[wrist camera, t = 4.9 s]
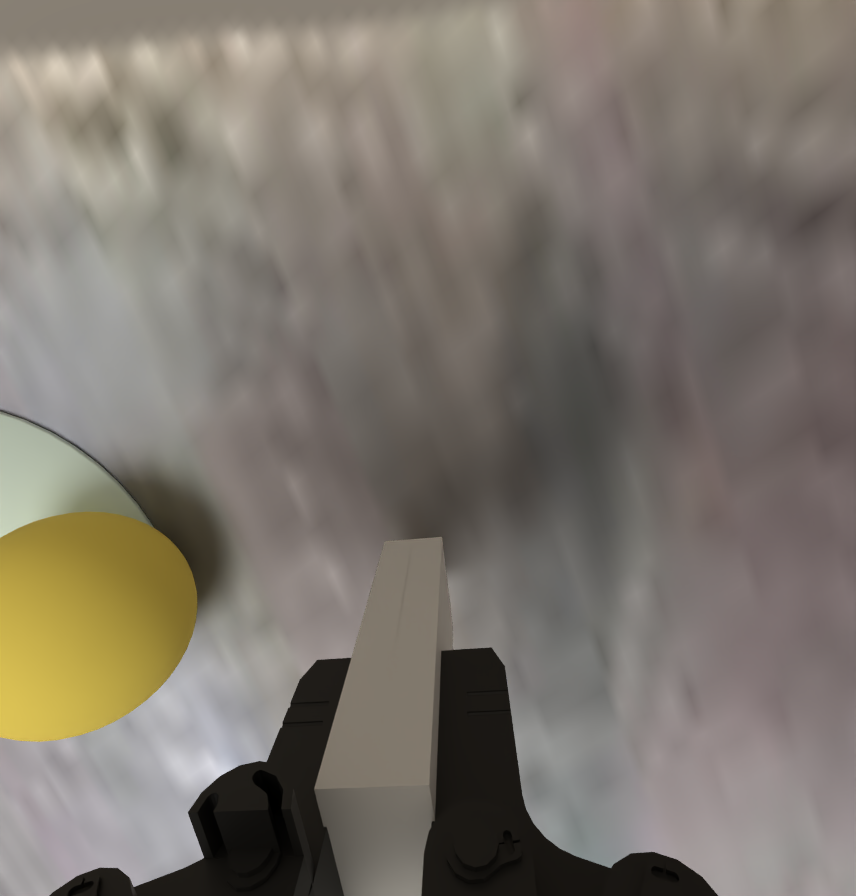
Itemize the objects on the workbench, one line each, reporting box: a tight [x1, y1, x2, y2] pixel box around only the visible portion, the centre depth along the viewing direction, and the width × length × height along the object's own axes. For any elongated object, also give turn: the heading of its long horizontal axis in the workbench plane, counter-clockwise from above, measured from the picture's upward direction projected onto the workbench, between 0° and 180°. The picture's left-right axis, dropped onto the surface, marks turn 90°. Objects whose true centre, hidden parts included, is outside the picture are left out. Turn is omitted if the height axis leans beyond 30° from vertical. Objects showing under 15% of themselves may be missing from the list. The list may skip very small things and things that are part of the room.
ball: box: [0, 512, 197, 742], centre depth 13 cm, size 6×6×6 cm
